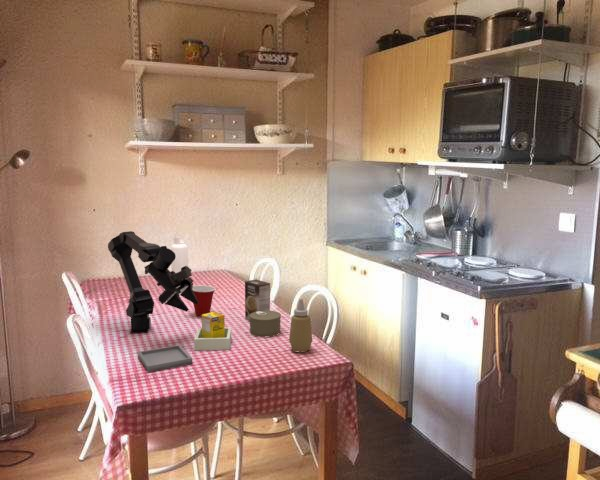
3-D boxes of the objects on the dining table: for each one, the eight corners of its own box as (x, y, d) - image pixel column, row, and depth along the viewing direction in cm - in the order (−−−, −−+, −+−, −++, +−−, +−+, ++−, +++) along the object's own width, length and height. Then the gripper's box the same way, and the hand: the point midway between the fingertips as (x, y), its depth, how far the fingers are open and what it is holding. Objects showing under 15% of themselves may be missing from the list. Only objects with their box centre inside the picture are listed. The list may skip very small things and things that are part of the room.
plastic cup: (217, 317, 216) (217, 289, 214) (191, 319, 213) (190, 291, 211) (214, 310, 226) (214, 283, 225) (189, 312, 224) (188, 285, 222)
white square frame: (194, 350, 179) (194, 339, 178) (198, 338, 190) (198, 328, 190) (229, 349, 180) (229, 338, 179) (231, 337, 191) (231, 327, 191)
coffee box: (244, 319, 214) (244, 281, 211) (256, 316, 218) (256, 278, 216) (258, 324, 207) (258, 285, 205) (270, 320, 212) (270, 282, 209)
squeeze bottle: (292, 355, 175) (292, 303, 172) (286, 347, 182) (286, 297, 179) (315, 352, 177) (315, 301, 174) (308, 344, 184) (308, 295, 182)
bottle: (180, 295, 251) (179, 238, 246) (168, 293, 255) (166, 237, 251) (192, 292, 257) (191, 236, 253) (180, 289, 262) (178, 235, 257)
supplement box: (225, 344, 185) (224, 314, 183) (211, 348, 181) (210, 318, 179) (215, 340, 189) (215, 311, 188) (201, 343, 185) (201, 314, 183)
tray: (138, 357, 172) (137, 351, 172) (179, 350, 179) (179, 344, 178) (148, 372, 160) (148, 366, 160) (192, 363, 167) (192, 358, 166)
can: (260, 339, 190) (260, 321, 189) (243, 330, 200) (243, 313, 198) (287, 333, 197) (287, 316, 196) (270, 325, 207) (269, 308, 205)
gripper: (165, 265, 174) (197, 299, 173) (187, 255, 192) (216, 286, 191) (144, 287, 176) (176, 320, 176) (168, 275, 194) (197, 305, 194)
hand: (192, 307), depth 184 cm, fingers open, 9 cm apart
